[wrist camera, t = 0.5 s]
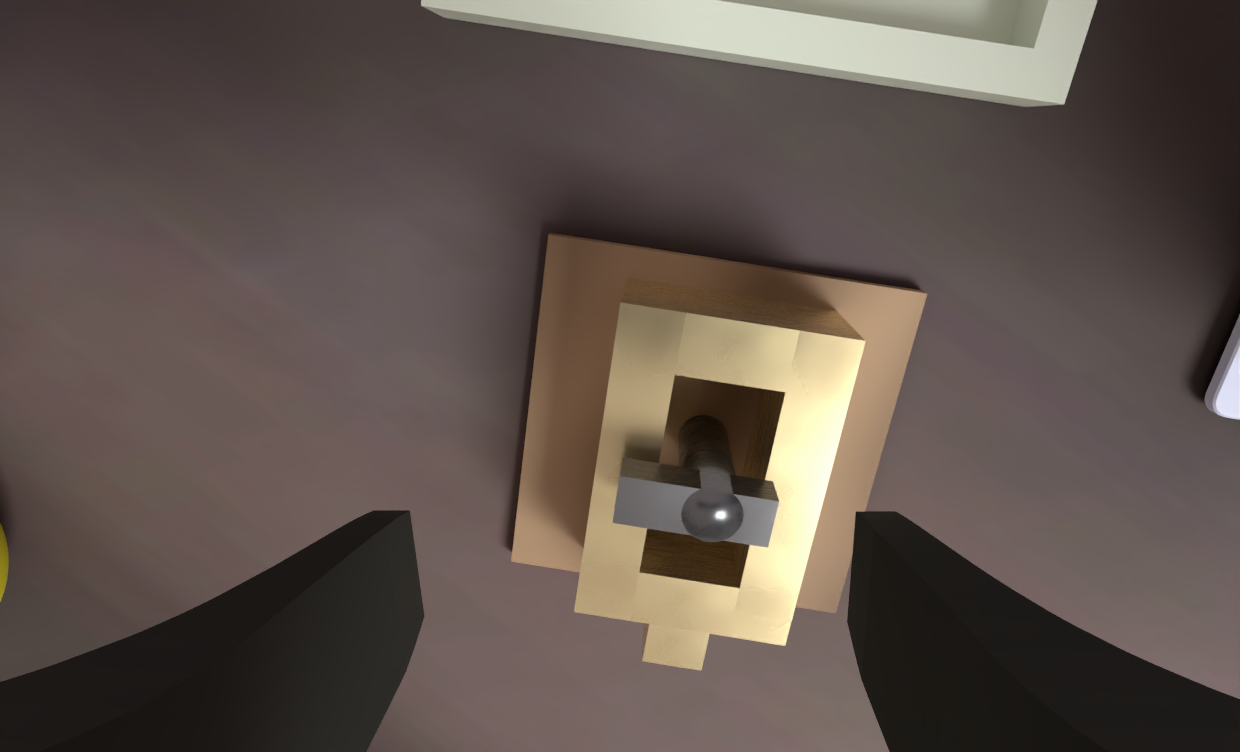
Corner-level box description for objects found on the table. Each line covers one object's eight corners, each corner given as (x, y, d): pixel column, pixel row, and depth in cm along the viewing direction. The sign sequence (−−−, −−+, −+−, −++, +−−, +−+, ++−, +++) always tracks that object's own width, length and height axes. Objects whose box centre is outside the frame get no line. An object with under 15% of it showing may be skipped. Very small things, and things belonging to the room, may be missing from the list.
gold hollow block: (836, 310, 19) (865, 340, 17) (761, 612, 23) (775, 682, 20) (627, 277, 19) (620, 302, 17) (580, 584, 23) (568, 649, 20)
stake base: (922, 290, 20) (927, 293, 19) (832, 605, 23) (835, 613, 22) (550, 232, 20) (548, 234, 19) (513, 554, 23) (511, 561, 22)
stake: (757, 423, 21) (780, 497, 16) (747, 468, 21) (767, 551, 17) (629, 403, 21) (620, 472, 16) (622, 448, 21) (612, 526, 17)
